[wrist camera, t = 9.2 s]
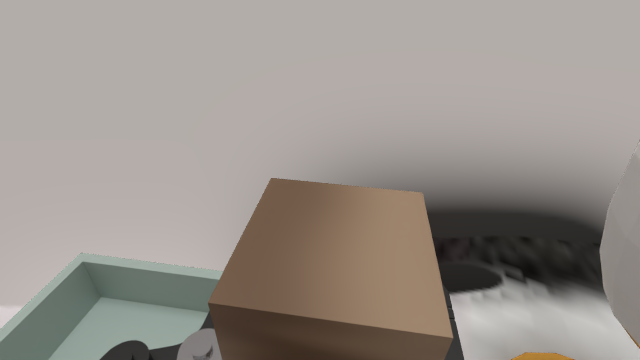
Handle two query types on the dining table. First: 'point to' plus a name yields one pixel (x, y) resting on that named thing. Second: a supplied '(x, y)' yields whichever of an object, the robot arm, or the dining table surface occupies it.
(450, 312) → the robot arm
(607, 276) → the cup
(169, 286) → the tray
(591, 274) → the dining table surface
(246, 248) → the walnut block
